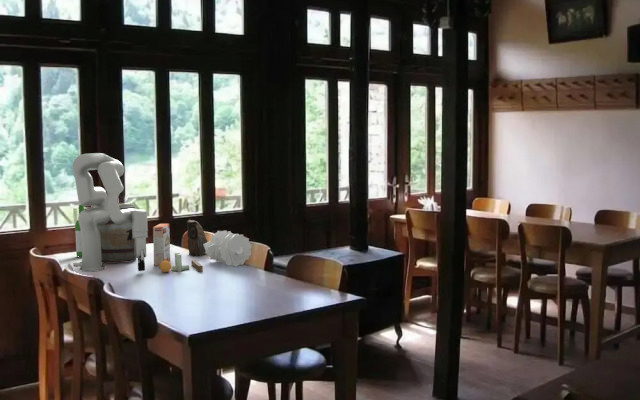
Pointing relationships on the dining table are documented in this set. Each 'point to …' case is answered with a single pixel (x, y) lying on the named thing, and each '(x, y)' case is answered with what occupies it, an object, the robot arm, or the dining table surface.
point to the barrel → (117, 241)
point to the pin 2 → (179, 263)
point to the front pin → (184, 267)
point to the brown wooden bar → (197, 265)
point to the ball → (165, 266)
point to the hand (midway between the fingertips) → (141, 270)
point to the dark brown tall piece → (196, 239)
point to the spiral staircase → (228, 248)
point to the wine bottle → (78, 234)
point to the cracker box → (161, 243)
